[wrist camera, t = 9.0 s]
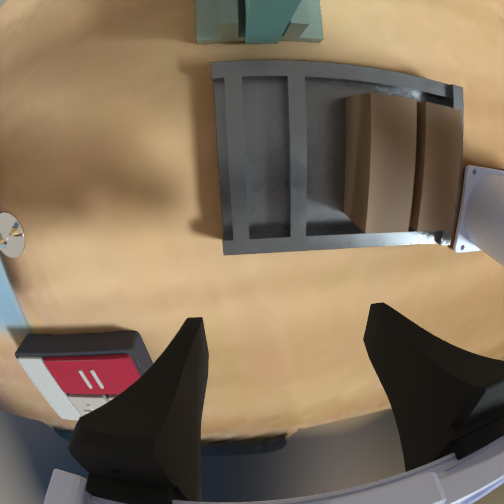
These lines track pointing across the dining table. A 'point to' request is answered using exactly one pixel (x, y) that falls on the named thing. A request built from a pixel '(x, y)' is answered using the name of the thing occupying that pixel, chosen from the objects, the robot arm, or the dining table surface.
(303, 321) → the dining table surface
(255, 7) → the teal flat block
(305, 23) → the stand
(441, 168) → the offcut
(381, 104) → the offcut
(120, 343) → the black red box
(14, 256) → the wineglass
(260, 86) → the rack
